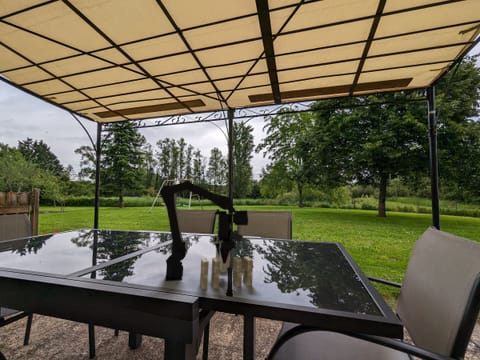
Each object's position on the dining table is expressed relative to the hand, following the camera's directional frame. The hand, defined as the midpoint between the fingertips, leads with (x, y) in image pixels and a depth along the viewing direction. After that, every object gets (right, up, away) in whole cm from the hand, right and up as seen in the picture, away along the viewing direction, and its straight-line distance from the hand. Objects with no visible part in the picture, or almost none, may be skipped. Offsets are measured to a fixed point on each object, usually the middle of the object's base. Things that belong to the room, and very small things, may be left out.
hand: (222, 261), depth 100 cm
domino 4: (+6, -7, -7) cm, 12 cm away
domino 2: (-2, -6, -10) cm, 12 cm away
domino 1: (-7, -6, -11) cm, 14 cm away
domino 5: (+11, -7, -6) cm, 14 cm away
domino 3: (0, -4, 0) cm, 4 cm away
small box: (-1, -9, +16) cm, 18 cm away
